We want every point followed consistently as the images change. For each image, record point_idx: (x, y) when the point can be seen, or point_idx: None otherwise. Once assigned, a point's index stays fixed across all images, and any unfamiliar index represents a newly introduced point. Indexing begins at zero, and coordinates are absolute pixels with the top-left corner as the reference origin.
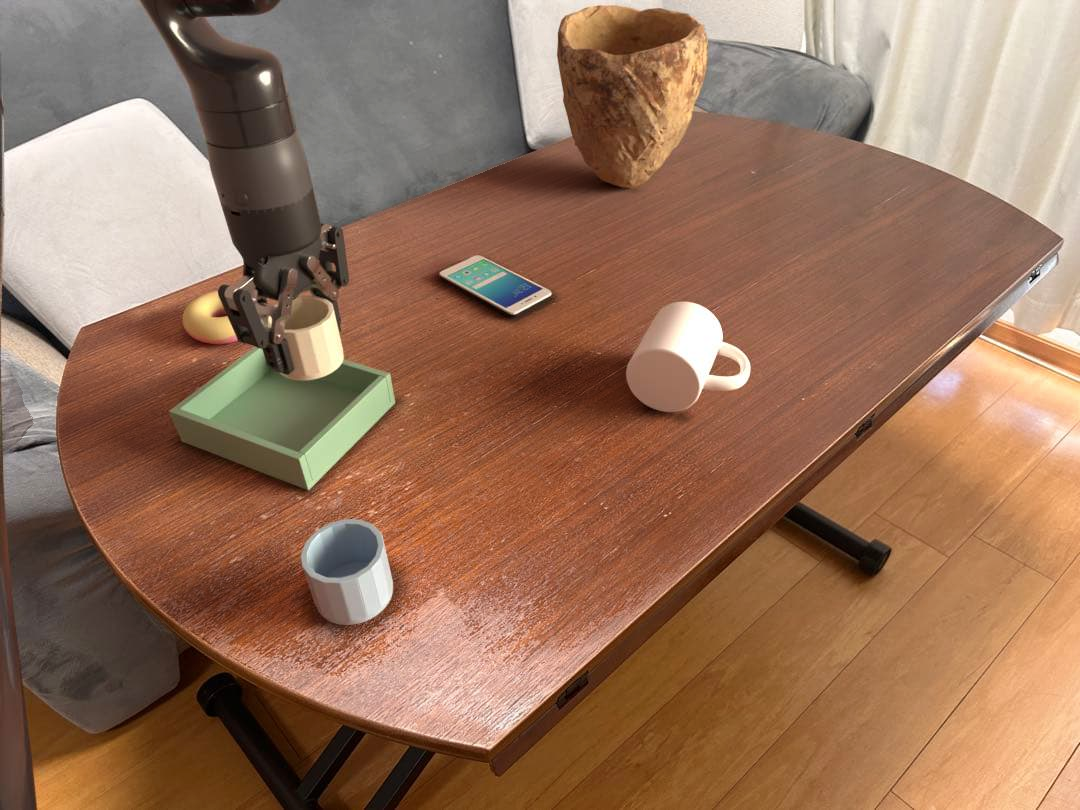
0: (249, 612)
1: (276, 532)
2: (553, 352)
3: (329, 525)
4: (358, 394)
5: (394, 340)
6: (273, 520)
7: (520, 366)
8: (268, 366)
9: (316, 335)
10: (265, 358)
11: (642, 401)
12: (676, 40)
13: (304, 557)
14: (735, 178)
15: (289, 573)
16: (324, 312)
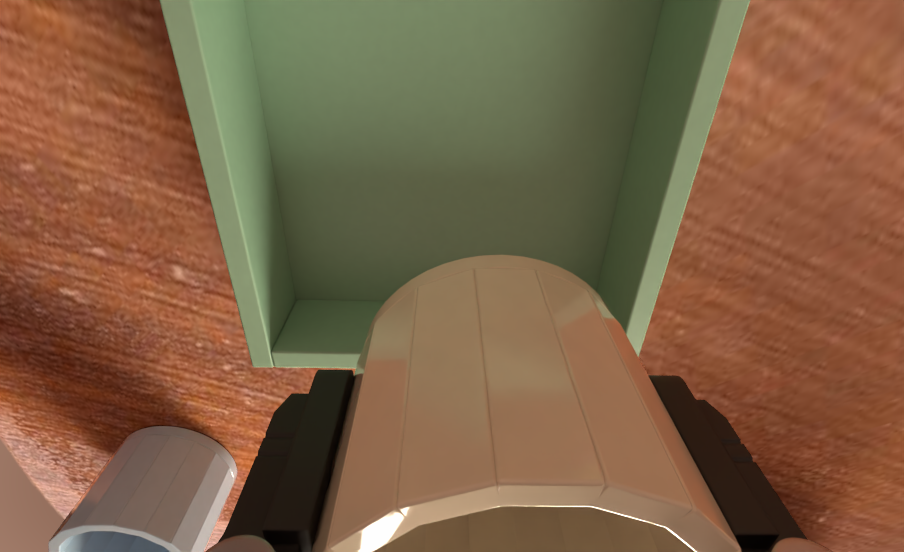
0: (36, 376)
1: (169, 316)
2: (824, 471)
3: (139, 534)
4: (601, 238)
5: (892, 167)
6: (185, 294)
7: (772, 446)
8: (278, 410)
9: None
10: (260, 447)
11: None
12: None
13: (62, 537)
14: None
15: (130, 382)
16: (656, 545)
